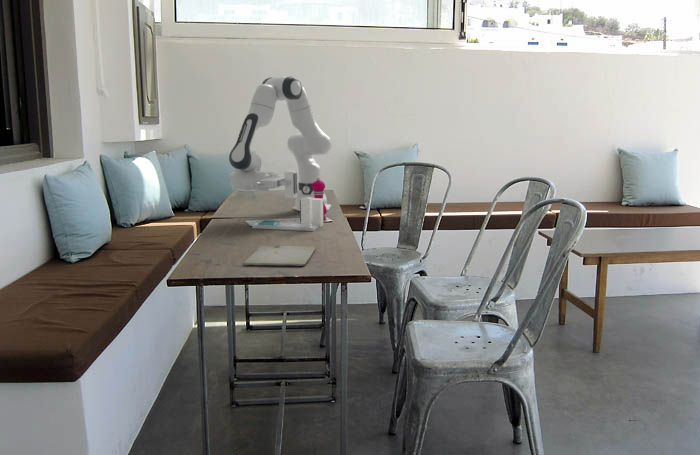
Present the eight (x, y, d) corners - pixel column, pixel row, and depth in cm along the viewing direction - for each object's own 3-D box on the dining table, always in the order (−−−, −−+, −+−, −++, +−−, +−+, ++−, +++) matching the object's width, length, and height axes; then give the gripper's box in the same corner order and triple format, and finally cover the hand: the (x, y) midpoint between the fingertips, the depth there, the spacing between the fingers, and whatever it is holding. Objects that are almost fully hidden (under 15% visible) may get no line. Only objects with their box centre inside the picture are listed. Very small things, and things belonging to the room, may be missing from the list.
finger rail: (259, 224, 279) (258, 194, 276) (319, 227, 271) (318, 196, 269) (252, 228, 271) (251, 197, 269) (313, 231, 264) (312, 199, 261)
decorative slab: (259, 250, 231) (258, 244, 230) (316, 250, 230) (316, 245, 229) (243, 268, 204) (242, 262, 204) (307, 268, 203) (307, 262, 203)
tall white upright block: (288, 196, 283) (287, 170, 281) (297, 197, 282) (297, 170, 280) (285, 198, 280) (284, 171, 277) (294, 198, 278) (294, 171, 276)
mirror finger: (313, 224, 278) (313, 198, 276) (323, 225, 277) (323, 198, 275) (310, 226, 274) (310, 199, 272) (320, 226, 273) (320, 199, 271)
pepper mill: (327, 218, 293) (327, 176, 289) (325, 221, 286) (325, 178, 282) (312, 218, 294) (311, 176, 290) (310, 221, 287) (309, 178, 283)
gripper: (254, 177, 273) (283, 177, 269) (272, 172, 292) (299, 172, 288) (254, 191, 274) (284, 192, 270) (272, 185, 293) (300, 186, 290)
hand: (292, 182), depth 279 cm, fingers closed on tall white upright block, 4 cm apart
